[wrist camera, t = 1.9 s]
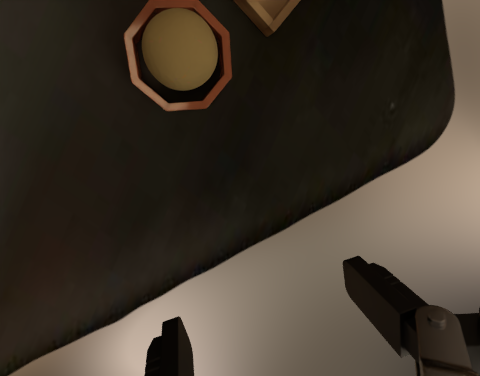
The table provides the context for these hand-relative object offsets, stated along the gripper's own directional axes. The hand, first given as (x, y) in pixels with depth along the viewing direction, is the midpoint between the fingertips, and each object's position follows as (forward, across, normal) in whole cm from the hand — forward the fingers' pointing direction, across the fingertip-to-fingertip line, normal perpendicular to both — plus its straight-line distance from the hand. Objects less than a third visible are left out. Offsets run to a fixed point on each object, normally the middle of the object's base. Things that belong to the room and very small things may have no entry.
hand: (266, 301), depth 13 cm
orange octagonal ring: (+24, 0, -13) cm, 27 cm away
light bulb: (+24, 0, -13) cm, 28 cm away
